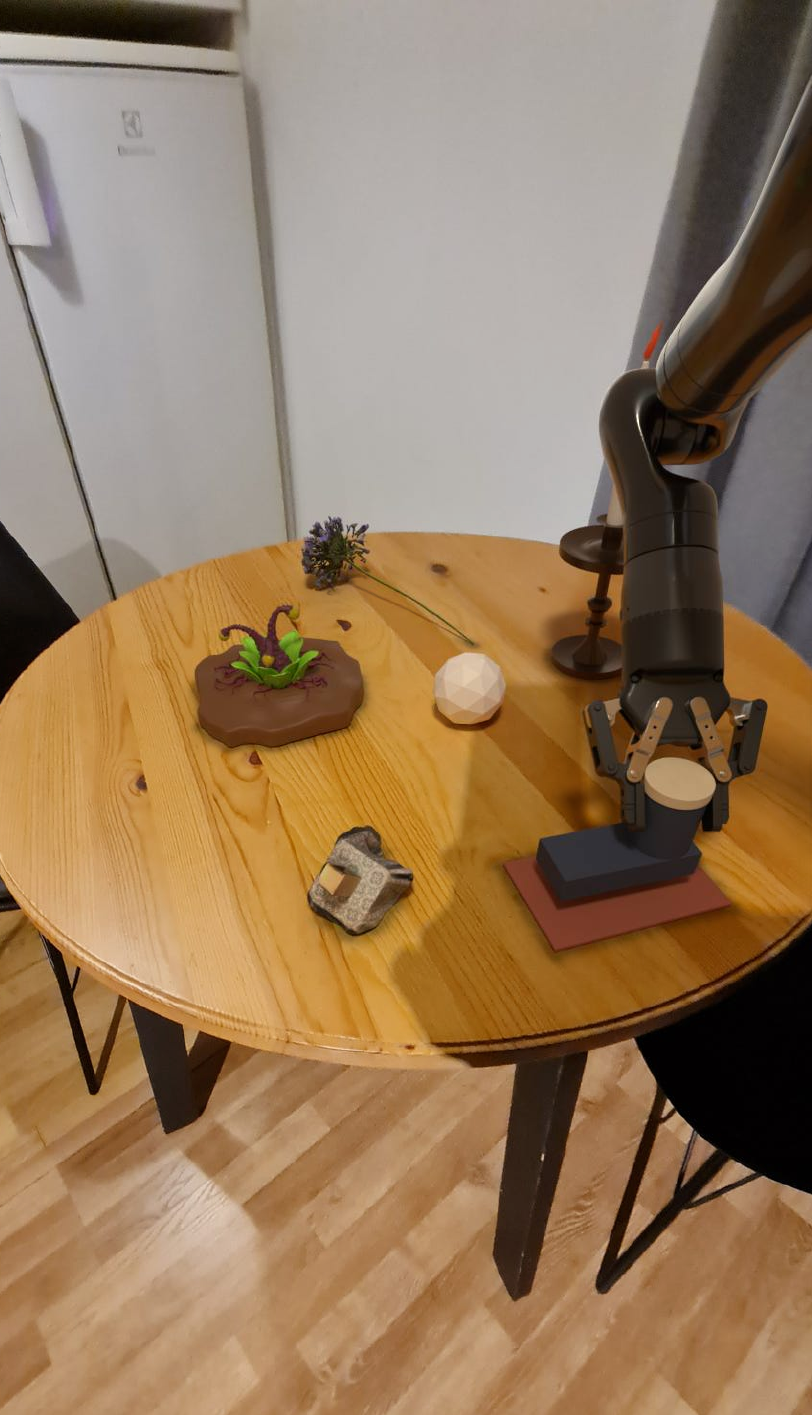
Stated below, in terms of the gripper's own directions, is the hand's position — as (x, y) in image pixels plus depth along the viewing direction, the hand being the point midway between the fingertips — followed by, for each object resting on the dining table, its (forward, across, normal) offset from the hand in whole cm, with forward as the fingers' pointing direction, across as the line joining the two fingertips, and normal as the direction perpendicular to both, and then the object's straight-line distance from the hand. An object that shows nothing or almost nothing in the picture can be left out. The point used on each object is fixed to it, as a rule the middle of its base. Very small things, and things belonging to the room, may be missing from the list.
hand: (674, 830), depth 59 cm
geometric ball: (-13, -14, +24) cm, 30 cm away
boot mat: (+5, -3, +6) cm, 8 cm away
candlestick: (-21, +2, +32) cm, 39 cm away
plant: (-16, -36, +27) cm, 48 cm away
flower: (-33, -23, +44) cm, 59 cm away
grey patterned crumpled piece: (+5, -25, +6) cm, 26 cm away
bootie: (+3, -4, +4) cm, 6 cm away
